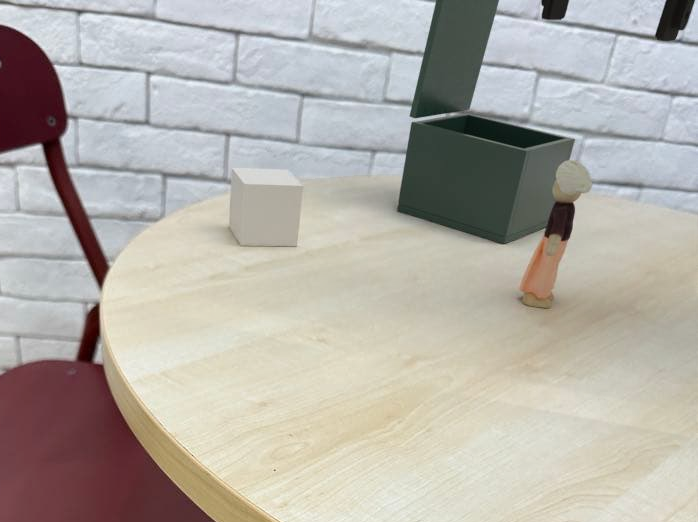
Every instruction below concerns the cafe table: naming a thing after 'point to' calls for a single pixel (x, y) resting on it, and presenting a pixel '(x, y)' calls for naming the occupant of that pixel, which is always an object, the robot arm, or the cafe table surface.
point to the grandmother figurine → (555, 234)
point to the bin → (481, 175)
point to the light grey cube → (265, 207)
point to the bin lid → (453, 56)
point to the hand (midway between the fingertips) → (606, 29)
